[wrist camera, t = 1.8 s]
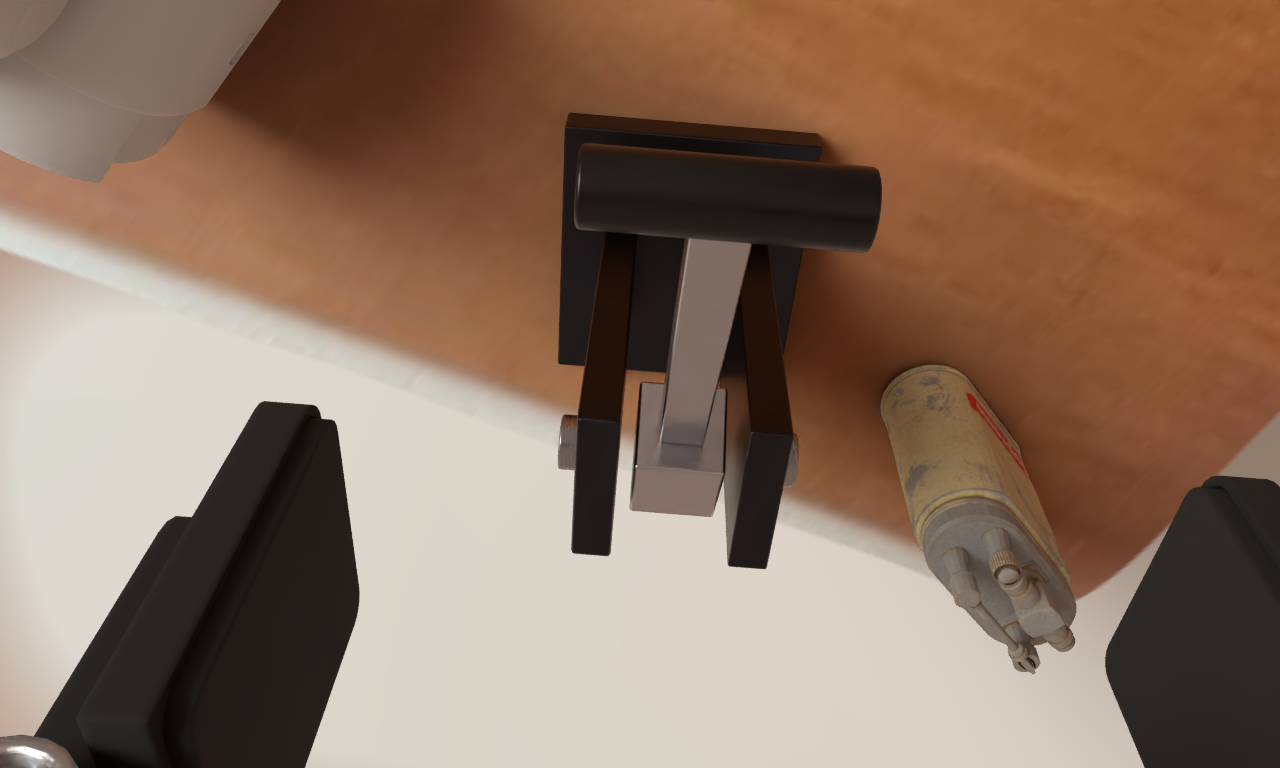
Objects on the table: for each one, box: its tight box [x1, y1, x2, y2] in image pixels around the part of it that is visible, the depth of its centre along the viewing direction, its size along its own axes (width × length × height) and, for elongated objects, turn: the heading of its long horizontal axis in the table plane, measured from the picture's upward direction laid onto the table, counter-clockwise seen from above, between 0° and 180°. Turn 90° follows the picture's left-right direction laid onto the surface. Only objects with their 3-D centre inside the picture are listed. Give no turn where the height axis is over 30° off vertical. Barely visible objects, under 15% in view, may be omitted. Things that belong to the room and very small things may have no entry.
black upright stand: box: [558, 113, 822, 569], centre depth 29 cm, size 9×8×13 cm
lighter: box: [880, 365, 1076, 674], centre depth 35 cm, size 7×4×10 cm, turn 39°
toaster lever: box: [574, 143, 882, 517], centre depth 22 cm, size 12×5×2 cm, turn 176°
